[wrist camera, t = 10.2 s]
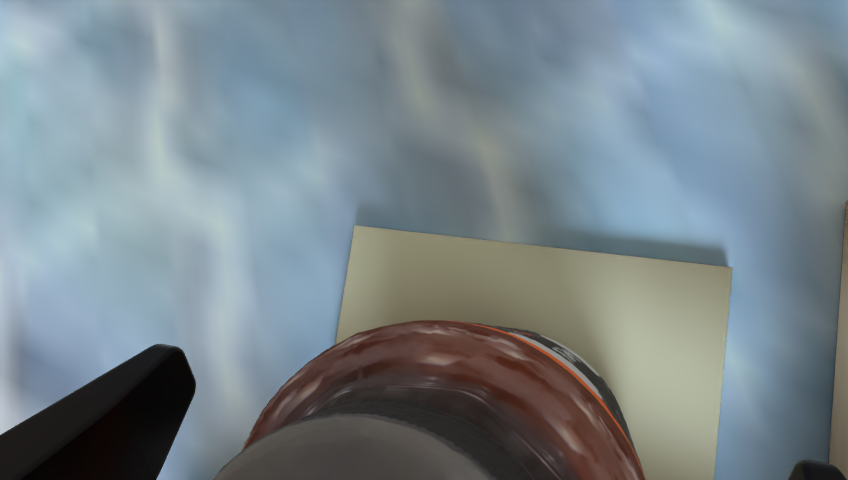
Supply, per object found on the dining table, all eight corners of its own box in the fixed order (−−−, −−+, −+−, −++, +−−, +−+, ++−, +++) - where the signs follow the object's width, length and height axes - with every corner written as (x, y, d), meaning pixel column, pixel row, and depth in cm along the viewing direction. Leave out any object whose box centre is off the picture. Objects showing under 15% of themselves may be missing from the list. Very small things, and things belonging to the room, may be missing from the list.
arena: (882, 847, 14) (996, 1041, 10) (224, 642, 18) (126, 723, 14) (917, 207, 15) (1026, 162, 12) (308, 156, 20) (240, 111, 16)
